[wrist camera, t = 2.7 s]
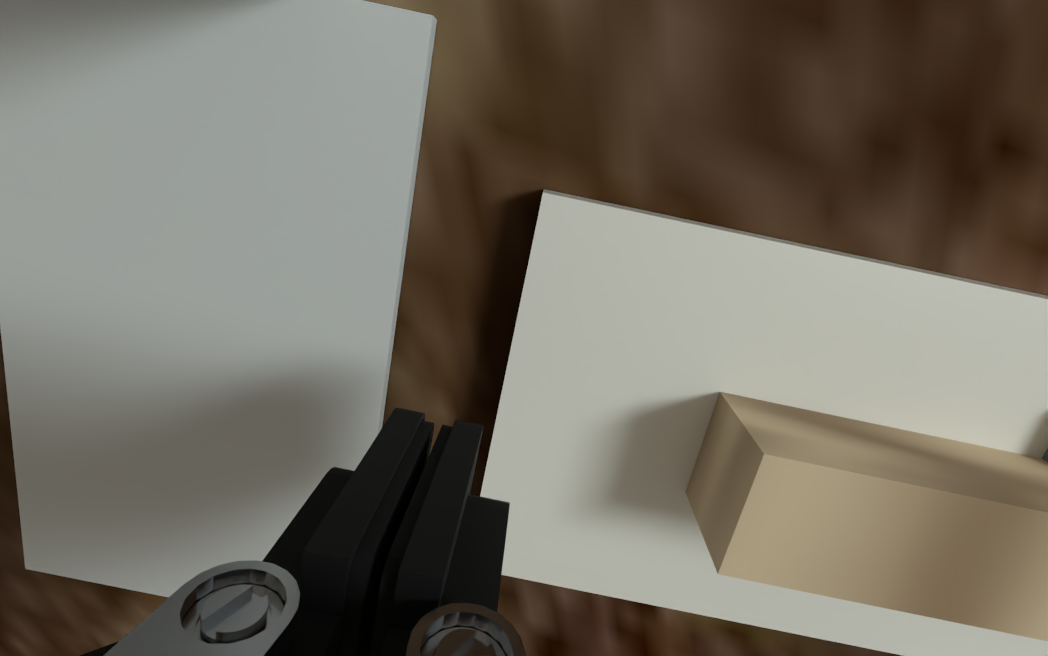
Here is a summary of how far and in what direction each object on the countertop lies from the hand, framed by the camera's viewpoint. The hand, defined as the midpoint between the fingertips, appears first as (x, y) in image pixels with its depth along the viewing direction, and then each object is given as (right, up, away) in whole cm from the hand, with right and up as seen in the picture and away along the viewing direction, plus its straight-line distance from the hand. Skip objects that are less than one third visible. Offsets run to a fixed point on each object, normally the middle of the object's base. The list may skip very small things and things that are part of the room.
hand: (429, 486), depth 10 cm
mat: (-7, +3, +4) cm, 8 cm away
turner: (+13, -1, +3) cm, 13 cm away
